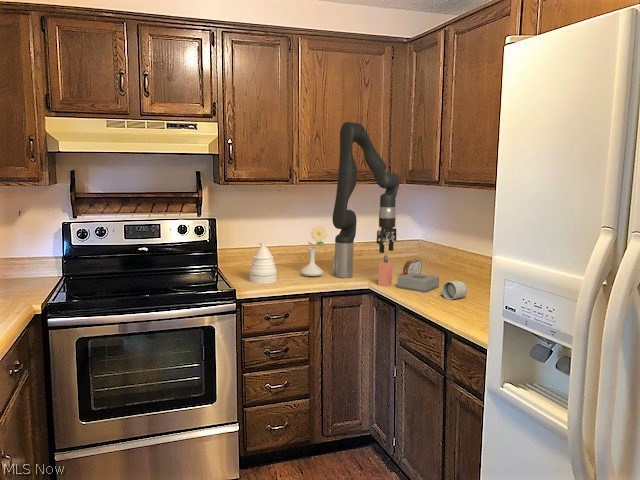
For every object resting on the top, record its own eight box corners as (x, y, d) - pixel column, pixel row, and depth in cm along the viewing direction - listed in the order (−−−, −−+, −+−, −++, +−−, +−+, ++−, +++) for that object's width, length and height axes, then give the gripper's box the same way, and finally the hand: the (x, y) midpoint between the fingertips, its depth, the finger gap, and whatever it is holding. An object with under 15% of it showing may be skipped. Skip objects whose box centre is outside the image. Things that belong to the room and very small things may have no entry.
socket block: (397, 287, 244) (397, 277, 243) (411, 282, 255) (411, 272, 254) (425, 292, 236) (426, 281, 235) (438, 287, 247) (439, 276, 246)
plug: (378, 285, 248) (379, 255, 247) (383, 283, 252) (384, 254, 250) (386, 286, 246) (387, 256, 244) (391, 285, 249) (392, 255, 248)
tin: (417, 273, 278) (417, 257, 277) (422, 274, 276) (423, 258, 275) (402, 278, 266) (402, 261, 265) (407, 279, 264) (408, 262, 263)
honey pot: (246, 278, 258) (246, 241, 255) (272, 277, 262) (272, 240, 260) (253, 284, 246) (253, 245, 243) (280, 282, 250) (280, 244, 248)
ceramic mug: (468, 298, 226) (468, 280, 226) (455, 301, 221) (456, 283, 220) (447, 294, 235) (448, 277, 234) (435, 296, 230) (436, 279, 229)
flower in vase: (297, 277, 263) (298, 226, 260) (303, 272, 274) (304, 224, 271) (323, 278, 260) (324, 227, 257) (328, 274, 271) (329, 225, 268)
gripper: (387, 215, 253) (386, 249, 255) (372, 217, 241) (371, 252, 243) (402, 216, 248) (400, 250, 250) (386, 218, 237) (385, 254, 239)
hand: (386, 251), depth 247 cm, fingers open, 8 cm apart
